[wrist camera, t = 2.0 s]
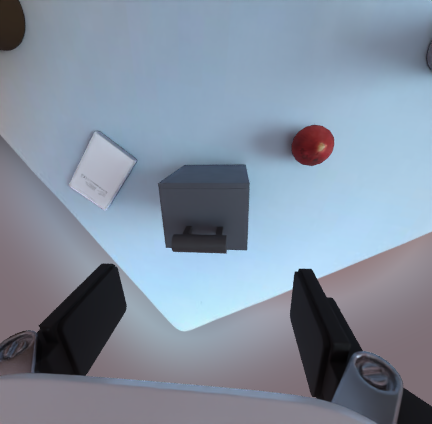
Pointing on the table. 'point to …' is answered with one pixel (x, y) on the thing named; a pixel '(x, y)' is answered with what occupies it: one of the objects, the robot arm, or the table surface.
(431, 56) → the travel mug
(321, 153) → the onion
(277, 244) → the table surface
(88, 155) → the hard drive
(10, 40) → the olive oil
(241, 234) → the grey drawer with handle
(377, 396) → the robot arm
